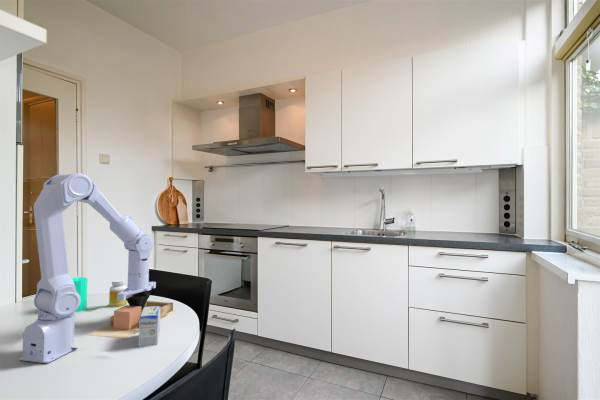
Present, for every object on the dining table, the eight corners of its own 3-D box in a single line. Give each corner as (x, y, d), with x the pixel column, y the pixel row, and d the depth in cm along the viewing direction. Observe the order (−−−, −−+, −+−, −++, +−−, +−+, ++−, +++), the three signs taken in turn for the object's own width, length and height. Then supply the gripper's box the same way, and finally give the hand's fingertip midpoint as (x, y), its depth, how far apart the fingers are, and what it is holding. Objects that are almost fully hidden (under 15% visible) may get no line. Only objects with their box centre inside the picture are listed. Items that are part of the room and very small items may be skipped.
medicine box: (141, 338, 84) (142, 306, 85) (159, 336, 86) (160, 305, 86) (137, 351, 77) (139, 316, 77) (157, 349, 79) (158, 314, 79)
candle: (67, 308, 108) (69, 273, 108) (88, 306, 110) (89, 272, 111) (63, 313, 102) (64, 277, 103) (84, 311, 105) (85, 275, 105)
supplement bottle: (107, 307, 110) (108, 279, 110) (124, 304, 113) (125, 277, 113) (110, 311, 105) (111, 282, 106) (127, 308, 109) (128, 280, 109)
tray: (125, 342, 82) (126, 329, 82) (86, 338, 84) (87, 325, 84) (175, 313, 104) (175, 303, 104) (143, 310, 106) (144, 300, 106)
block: (129, 329, 87) (129, 312, 88) (113, 328, 88) (114, 310, 88) (140, 323, 92) (141, 306, 92) (126, 321, 93) (126, 305, 93)
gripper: (133, 278, 87) (132, 327, 87) (164, 268, 101) (163, 310, 101) (111, 277, 88) (110, 325, 88) (145, 267, 102) (144, 309, 102)
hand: (137, 317), depth 94 cm, fingers closed
